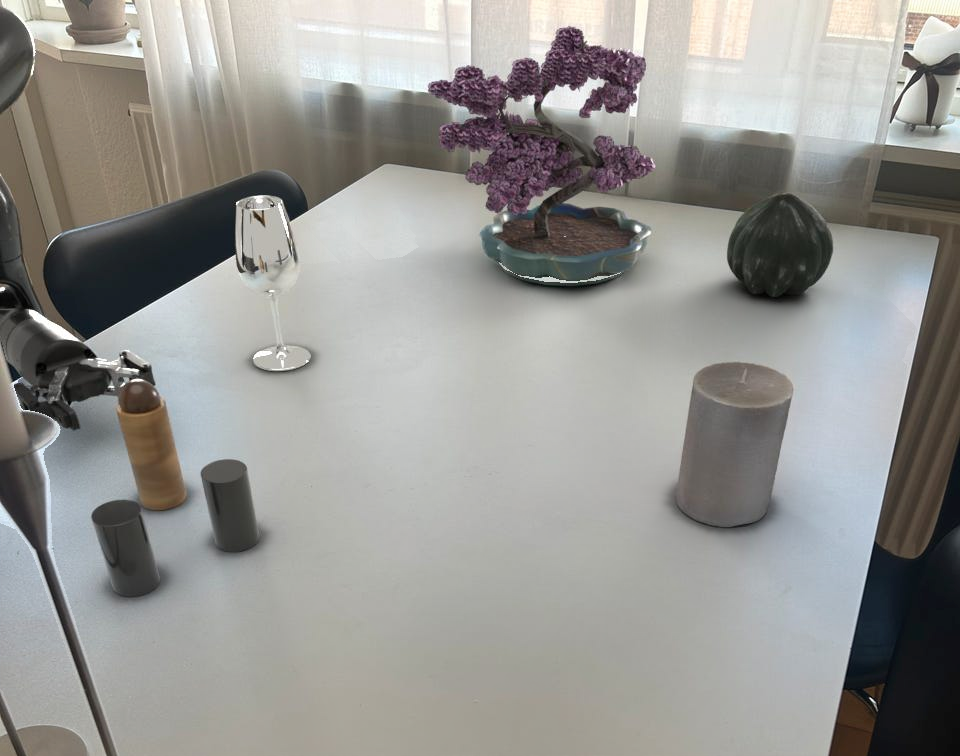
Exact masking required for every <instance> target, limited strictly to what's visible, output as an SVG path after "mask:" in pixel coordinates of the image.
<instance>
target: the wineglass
mask: <svg viewBox="0 0 960 756" xmlns="http://www.w3.org/2000/svg"><path fill="white" fill-rule="evenodd" d="M235 205H236V206H235V223H234V225H235V227H234V251H235V263H236V268H237V272H238V275H239V277H240V279H241V280H242V283H244V284H245V285H246V287H248V289H250V290H251V291H252V292H254V293H255V294H257V295H260V296H262V297H265V298H267V299H268V301H269V303H270V307H271V312H272V317H273V324H274V330H275V337H276V345H274V346H271V347H266V348H264V349H262V350H260V351H258V352H257V353H256V354H255V355H254V356H253V359H252V361H253V362H252V363H253V364H254V365H255V366H256V367H257V368H259V369H261V370H264V371H270V372H287V371H293V370H296V369H299V368H301V367H303V366H305V365H307V364H308V362H309V361H310V360H311V357H312V356H311V353H310V352H309V350H308V349H306V348H304V347H301V346H299V345H298V346H297V345H289V344H286V345H285V343H284V341H283V336H282V330H281V329H282V328H281V321H280V316H279V297H282V296H283V295H284V294H286V293H287V292H288V291H289V290H291V288H292V287H293V286H294V285H295V284H296V281H297V279H298V278H299V276H300V275H299V274H300V270H301V259H300V255H299V249H298V243H297V241H296V237H295V234H294V231H293V228H292V224H291V221H290V217H289V215H288V212H287V210H286V207H285V204H284V201H283V199H282V198H280V197H278V196H275V195H274V196H273V195H253V196H247V197H245V198H242V199H239V200H238V201H237V202H236V204H235Z"/></svg>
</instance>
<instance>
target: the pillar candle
mask: <svg viewBox="0 0 960 756" xmlns="http://www.w3.org/2000/svg"><path fill="white" fill-rule="evenodd" d="M693 376H694V377H693V379H692V385H691V386H692V387H691V393H690V398H689V405H688V412H687V418H686V426H685V431H684V438H683V445H682V452H681V459H680V464H679V465H680V466H679V472H678V478H677V480H678V481H677V485H676V492H675V502H676V506H678V509H680V511H682V513H683V514H685V515H686V516H688V517H690V518H691V519H692V520H694V521H697V522H699V523H702V524H705V525H708V526H713V527H714V526H715V527H719V528H731V527H736V526H742V525H747V524H752V523H756V522H758V521H760V520H761V519H762V518H764V516H765V515H766V514H767V513H768V510H769V506H770V502H771V498H772V493H773V489H774V485H775V480H776V474H777V471H778V466H779V460H780V455H781V449H782V445H783V440H784V436H785V432H786V429H787V428H786V427H787V424H788V418H789V412H790V408H791V403H792V398H793V395H794V386H793V382H792V381H791V380H790V378H789V377H787V375H785V374H784V373H782V372H780V371H778V370H776V369H773V368H771V367H768V366H765V365H761V364H756V363H753V362H751V363H750V362H741V361H726V362H720V363H713V364H710V365H706V366H704V367H702V368H701V369H699V370H698V371H697V372H696V373H695V374H694V375H693Z"/></svg>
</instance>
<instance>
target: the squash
mask: <svg viewBox="0 0 960 756" xmlns="http://www.w3.org/2000/svg"><path fill="white" fill-rule="evenodd" d="M833 254H834V239H833V235H832V232H831V229H830V227H829V225H828V223H827V221H826V220H825V219H824V217H823V216H822V215H821V213H820V212H819V211H818V210H817V209H816V208H814V206H813V205H811V204H810V203H809V202H807V200H805V199H804V198H802V197H801V196H799V195H797V194H794V193H792V192H788V191H787V192H786V191H782V192H781V191H780V192H777V193H775V194H773V195H772V196H771V195H770V196H769V197H767V198H765V199H762V200H761V201H758V202H756V203H755V204H753V205H751V206H749V208H747V209H746V210H744V212H743V213H742V214H741V215H740V217H738V219H737V220H736V223H735V224H734V228H733V229H732V230H731V233H730V235H729V238H728V242H727V247H726V261H727V265H728V267H729V269H730V271H731V273H732V274H733V275H734V277H735V278H736V279H737V280H738V282H740V283H742V284H744V285H745V286H746V289H747V291H749V292H750V293H751V294H752V295H754V296H755V295H756V296H757V295H762V294H764V293H766V295H768V296H769V297H771V298H779V297H780V296H782V295H783V294H784V293H785V294H786V295H789V296H799V295H802V294H803V293H804V292H806V291H807V290H809V288H810V287H812V286H814V285H815V284H816V283H818V282H819V281H820V280H821V279H822V277H823V276H824V275H825V273H826V271H827V269H828V267H829V266H830V263H831V260H832V256H833Z"/></svg>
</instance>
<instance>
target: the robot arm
mask: <svg viewBox="0 0 960 756" xmlns="http://www.w3.org/2000/svg"><path fill="white" fill-rule="evenodd" d="M35 50H36V49H35V43H34V38H33V36H32V33H31V31H30V29H29V27H28V26H27V24H26V23H25V21H24V20H23V19H22V18H21V17H20V16H19V15H18V14H16V13H15V12H13V11H11V10H10V9H7V7H4V6H1V5H0V117H1V116H2V115H4V114H5V113H6V112H7V111H8V110H10V109H11V108H13V106H15V104H16V103H17V102H18V101H19V100H20V98H21V97H22V96H23V94H24V93H25V91H26V89H27V87H28V85H29V83H30V82H31V78H32V75H33V71H34V66H35V55H36V54H35V53H36V51H35ZM23 249H24V248H23V240H22V230H21V221H20V214H19V210H18V207H17V203H16V201H15V198H14V196H13V193H12V191H11V189H10V188H9V186H8V184H7V182H6V181H5V179H4V177H3V175H2V174H1V173H0V285H5V286H1V287H0V341H1V342H2V345H3V349H4V353H5V357H6V360H7V361H6V362H7V363H9V364H10V365H11V366H12V367H13V368H14V369H15V370H16V371H17V373H18V374H19V375H20V376H21V378H22V379H23V380H24V381H26V382H27V383H28V384H29V385H25V383H23V382H15V383H14V388H15V391H16V394H17V397H18V400H19V403H20V406H21V408H22V409H23V410H30V411H35V412H39V413H42V414H45V415H47V416H49V417H51V418H52V419H53V420H54V421H53V422H56V423H58V424H59V425H60V426H61V427H62V428H64V429H70V430H72V432H76V431H78V430H81V425H80V421H79V418H78V415H77V412H76V410H75V409H73V407H74V405H76V404H77V403H80V402H84V401H86V400H88V399H91V398H94V397H95V398H96V397H99V396H108V397H109V396H110V397H118V395H119V391H120V389H121V388H122V386H123V385H124V384H125V383H126V382H125V379H128V382H129V381H131V380H136V379H139V380H144V381H147V382H149V383H151V384H152V385H153V386H154V387H155V386H156V380H155V377H154V373H153V367H152V364H151V363H150V362H148V361H146V360H145V359H143V358H142V357H140V356H138V355H136V354H134V352H132V351H130V350H128V349H127V350H120V351H119V352H118V355H119V358H118V359H116V360H112V361H108V360H107V359H103V358H99V357H98V356H97V354H96V353H95V352H94V351H93V350H92V349H91V348H90V347H89V346H88V345H87V344H85V343H84V342H83V341H81V340H80V339H79V338H77V337H76V336H74V335H73V334H72V333H70V332H69V331H68V330H66V329H65V328H64V327H62V326H60V325H58V324H56V323H54V322H52V321H50V319H48V318H46V316H45V312H44V309H43V307H42V304H41V302H40V299H39V298H38V296H37V294H36V292H35V289H34V287H33V284H32V282H31V279H30V276H29V273H28V270H27V265H26V262H25V261H26V260H25V257H24V250H23ZM111 383H112V385H113V386H111ZM40 397H42V398H43V399H44V401H39V398H40ZM51 418H50V419H51ZM52 419H51V420H52Z"/></svg>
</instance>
